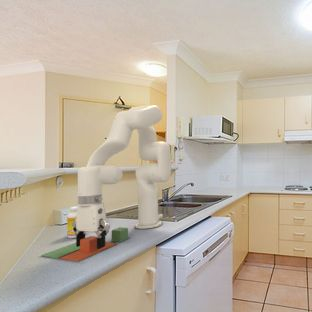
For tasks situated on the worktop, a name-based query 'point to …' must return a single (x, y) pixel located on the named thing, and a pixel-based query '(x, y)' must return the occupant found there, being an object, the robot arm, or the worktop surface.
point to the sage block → (119, 234)
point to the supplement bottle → (71, 218)
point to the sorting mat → (74, 252)
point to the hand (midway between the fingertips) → (90, 246)
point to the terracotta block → (88, 244)
